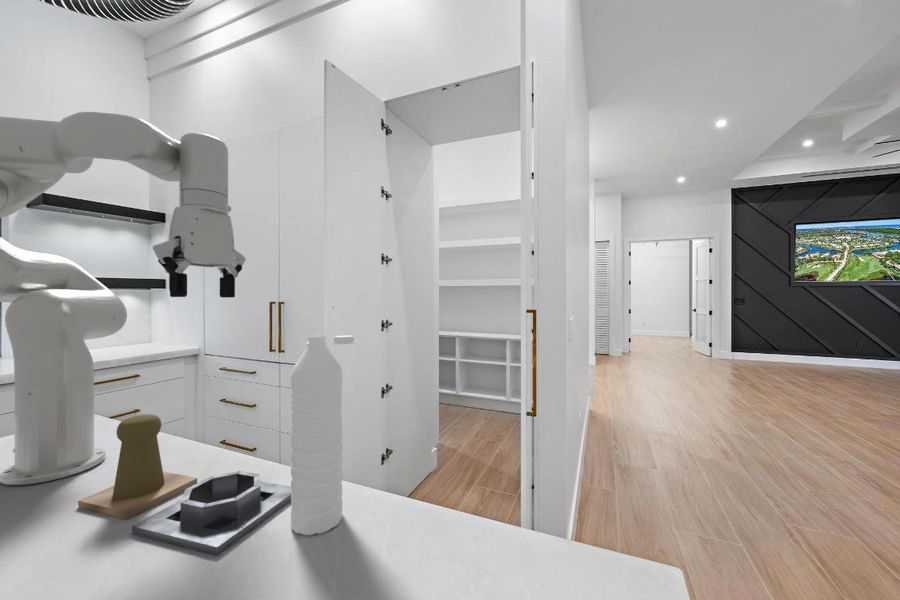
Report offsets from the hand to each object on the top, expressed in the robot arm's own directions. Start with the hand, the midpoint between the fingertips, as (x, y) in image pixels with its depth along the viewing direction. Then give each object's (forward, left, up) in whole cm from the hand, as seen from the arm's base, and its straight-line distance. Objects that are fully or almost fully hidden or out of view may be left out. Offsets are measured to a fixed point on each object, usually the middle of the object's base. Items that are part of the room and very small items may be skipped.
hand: (204, 297), depth 68 cm
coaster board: (+2, -12, -30) cm, 33 cm away
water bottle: (+33, -10, -31) cm, 46 cm away
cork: (+2, -12, -30) cm, 32 cm away
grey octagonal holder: (+18, -12, -30) cm, 37 cm away
